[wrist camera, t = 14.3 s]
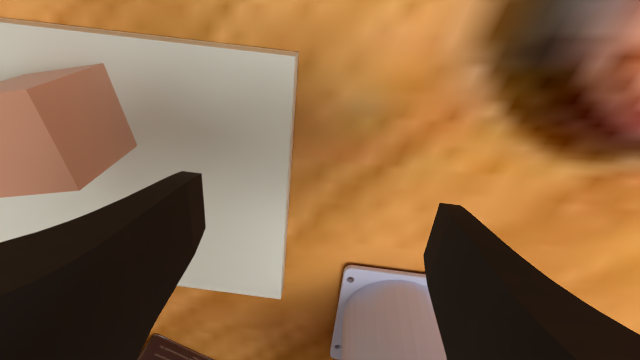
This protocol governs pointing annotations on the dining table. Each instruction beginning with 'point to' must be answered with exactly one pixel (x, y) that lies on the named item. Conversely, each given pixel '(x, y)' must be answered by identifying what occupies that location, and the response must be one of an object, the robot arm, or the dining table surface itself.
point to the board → (180, 140)
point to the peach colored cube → (59, 130)
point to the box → (168, 351)
